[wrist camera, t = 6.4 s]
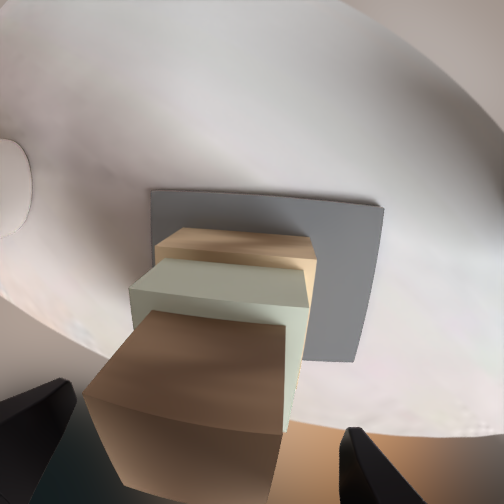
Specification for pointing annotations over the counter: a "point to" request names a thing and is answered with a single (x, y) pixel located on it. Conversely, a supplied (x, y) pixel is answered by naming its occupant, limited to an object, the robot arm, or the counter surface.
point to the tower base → (243, 252)
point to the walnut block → (194, 408)
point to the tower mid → (230, 301)
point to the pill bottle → (13, 187)
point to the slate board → (295, 224)
